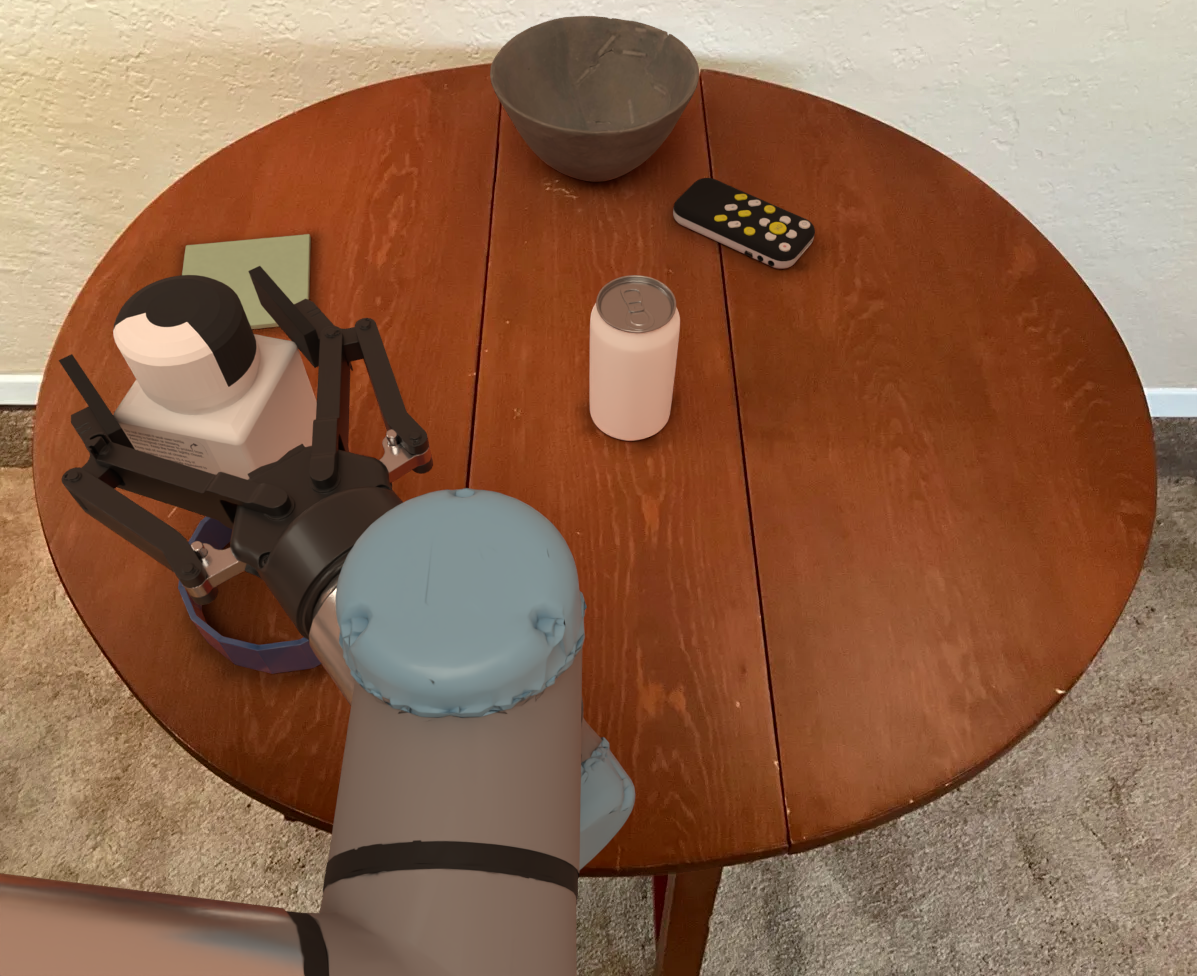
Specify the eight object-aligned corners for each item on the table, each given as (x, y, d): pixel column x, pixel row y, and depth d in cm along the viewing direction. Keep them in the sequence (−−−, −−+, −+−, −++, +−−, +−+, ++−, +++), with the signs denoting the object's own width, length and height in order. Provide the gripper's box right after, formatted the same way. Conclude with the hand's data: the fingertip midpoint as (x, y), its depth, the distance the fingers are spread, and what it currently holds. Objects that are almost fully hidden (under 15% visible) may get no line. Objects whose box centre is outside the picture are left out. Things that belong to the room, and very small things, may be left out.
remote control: (700, 186, 93) (702, 169, 92) (818, 238, 89) (822, 221, 88) (666, 221, 90) (667, 204, 89) (786, 276, 86) (789, 259, 85)
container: (215, 401, 63) (140, 246, 52) (326, 423, 62) (273, 270, 52) (159, 496, 59) (64, 348, 48) (277, 520, 58) (208, 376, 47)
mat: (176, 337, 81) (173, 333, 81) (187, 249, 88) (185, 245, 87) (308, 323, 82) (307, 319, 82) (310, 238, 89) (309, 233, 88)
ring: (189, 685, 64) (169, 662, 61) (204, 516, 71) (188, 488, 68) (394, 657, 65) (385, 633, 62) (388, 494, 72) (380, 466, 69)
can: (598, 449, 75) (600, 342, 65) (582, 387, 79) (581, 277, 69) (679, 437, 76) (692, 329, 66) (659, 376, 79) (669, 265, 70)
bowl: (722, 142, 97) (734, 48, 89) (629, 250, 88) (633, 156, 80) (565, 85, 103) (563, -8, 95) (461, 181, 93) (449, 87, 85)
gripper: (174, 771, 44) (2, 467, 54) (568, 511, 53) (358, 289, 63) (108, 709, 38) (-73, 378, 48) (566, 426, 47) (334, 193, 56)
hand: (171, 327), depth 55 cm, fingers closed on container, 10 cm apart
